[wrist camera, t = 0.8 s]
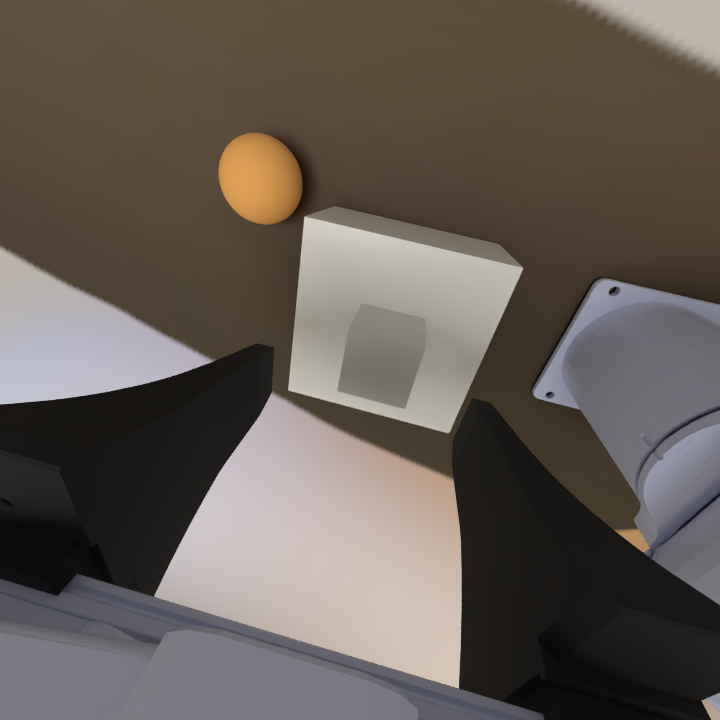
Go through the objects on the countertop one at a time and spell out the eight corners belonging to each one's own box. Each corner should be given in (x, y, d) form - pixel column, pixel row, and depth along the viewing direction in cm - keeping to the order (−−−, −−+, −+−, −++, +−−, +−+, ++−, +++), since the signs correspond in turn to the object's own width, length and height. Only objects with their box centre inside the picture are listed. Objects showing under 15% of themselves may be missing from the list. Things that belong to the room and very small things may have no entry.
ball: (316, 146, 17) (288, 138, 14) (308, 226, 19) (282, 237, 16) (243, 129, 17) (197, 118, 14) (243, 211, 19) (203, 219, 16)
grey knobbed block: (498, 244, 18) (546, 290, 11) (444, 381, 22) (452, 476, 15) (335, 206, 18) (276, 226, 11) (315, 347, 23) (265, 425, 16)
